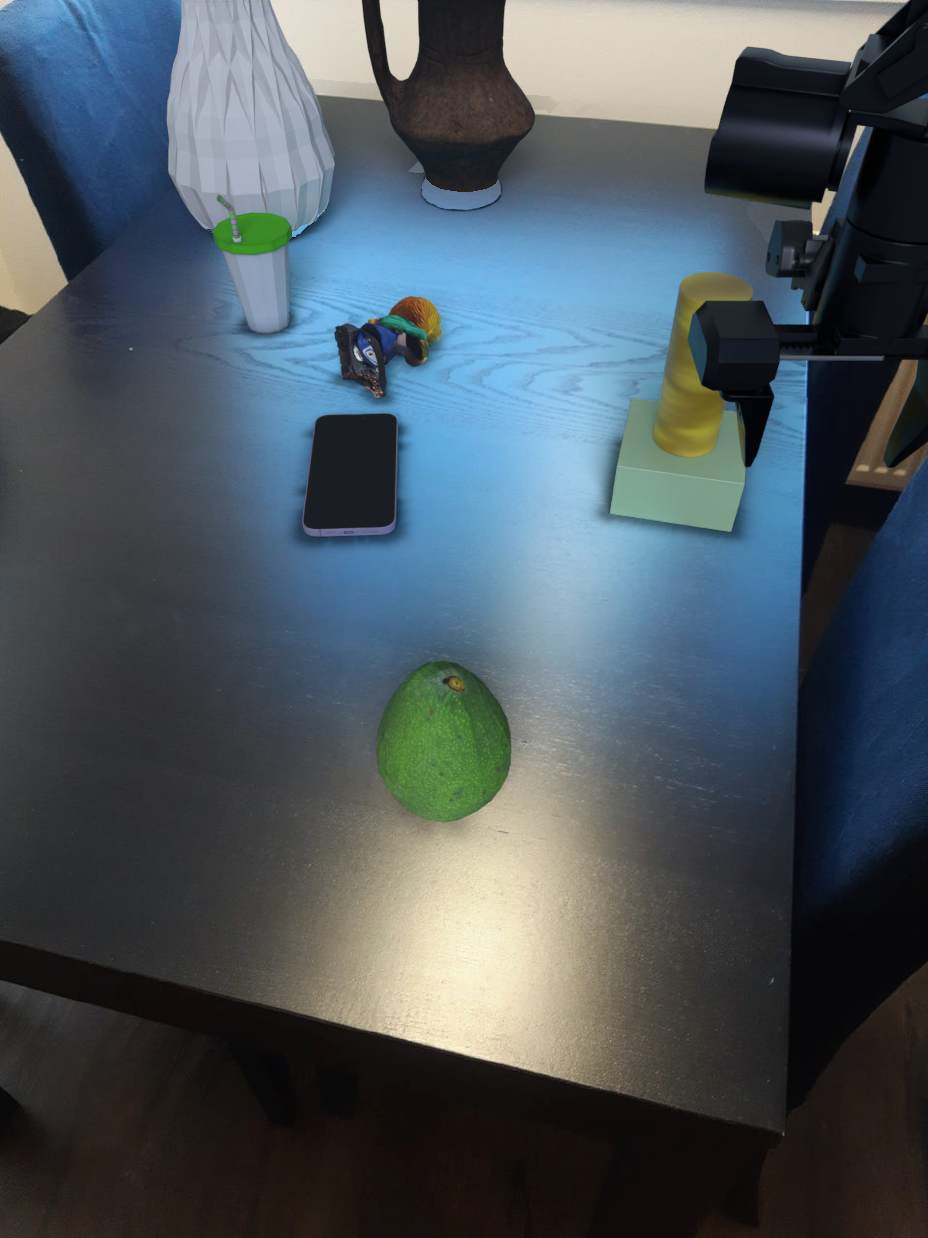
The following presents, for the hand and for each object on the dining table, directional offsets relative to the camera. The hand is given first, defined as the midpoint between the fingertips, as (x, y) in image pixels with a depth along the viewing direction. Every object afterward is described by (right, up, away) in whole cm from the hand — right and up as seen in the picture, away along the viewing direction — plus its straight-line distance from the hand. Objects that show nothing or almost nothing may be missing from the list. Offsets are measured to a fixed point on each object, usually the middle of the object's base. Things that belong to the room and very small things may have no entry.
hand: (816, 463), depth 57 cm
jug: (-24, +48, +63) cm, 82 cm away
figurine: (-30, +15, +33) cm, 47 cm away
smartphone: (-33, +2, +20) cm, 39 cm away
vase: (-49, +40, +56) cm, 84 cm away
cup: (-44, +22, +39) cm, 63 cm away
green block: (-5, +1, +19) cm, 20 cm away
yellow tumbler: (-5, +5, +15) cm, 17 cm away
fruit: (-24, -21, -2) cm, 32 cm away
